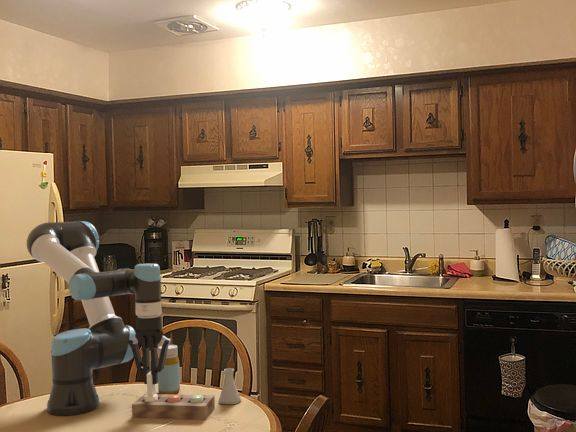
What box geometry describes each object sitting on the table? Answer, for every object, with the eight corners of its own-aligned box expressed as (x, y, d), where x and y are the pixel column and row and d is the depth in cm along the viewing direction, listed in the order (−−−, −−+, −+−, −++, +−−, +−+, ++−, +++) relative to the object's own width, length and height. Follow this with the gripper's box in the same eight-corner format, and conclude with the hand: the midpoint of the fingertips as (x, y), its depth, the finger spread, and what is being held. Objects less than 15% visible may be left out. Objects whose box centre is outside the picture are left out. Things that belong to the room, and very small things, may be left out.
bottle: (177, 395, 201) (176, 349, 200) (156, 395, 201) (155, 349, 200) (181, 388, 208) (180, 344, 207) (161, 389, 208) (159, 344, 207)
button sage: (188, 410, 180) (188, 398, 180) (192, 406, 184) (192, 394, 184) (201, 411, 180) (201, 399, 180) (205, 406, 183) (204, 395, 183)
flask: (237, 405, 188) (236, 373, 188) (215, 404, 190) (214, 372, 190) (244, 398, 196) (243, 366, 195) (222, 397, 197) (221, 366, 197)
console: (132, 417, 180) (131, 404, 180) (145, 406, 189) (144, 393, 189) (205, 420, 176) (205, 406, 176) (214, 408, 186) (214, 395, 186)
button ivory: (142, 409, 182) (142, 397, 182) (147, 405, 186) (147, 393, 186) (155, 409, 182) (154, 397, 182) (159, 405, 186) (159, 393, 185)
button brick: (165, 410, 181) (165, 398, 181) (170, 406, 185) (169, 394, 185) (178, 410, 181) (177, 398, 181) (182, 406, 184) (181, 394, 184)
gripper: (122, 318, 181) (125, 398, 181) (165, 318, 179) (168, 399, 179) (132, 313, 188) (135, 390, 188) (174, 313, 186) (176, 391, 186)
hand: (151, 394), depth 184 cm, fingers closed
